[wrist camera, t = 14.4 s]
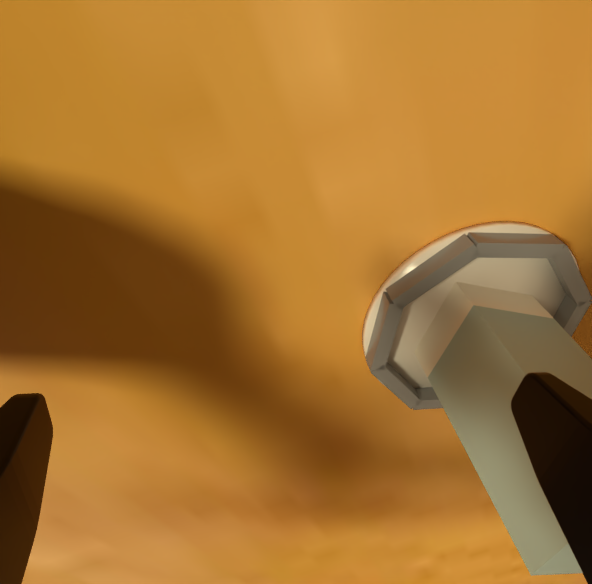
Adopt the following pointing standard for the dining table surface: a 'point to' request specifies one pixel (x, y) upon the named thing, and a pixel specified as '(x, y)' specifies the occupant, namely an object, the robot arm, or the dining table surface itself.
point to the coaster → (472, 270)
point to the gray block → (503, 402)
